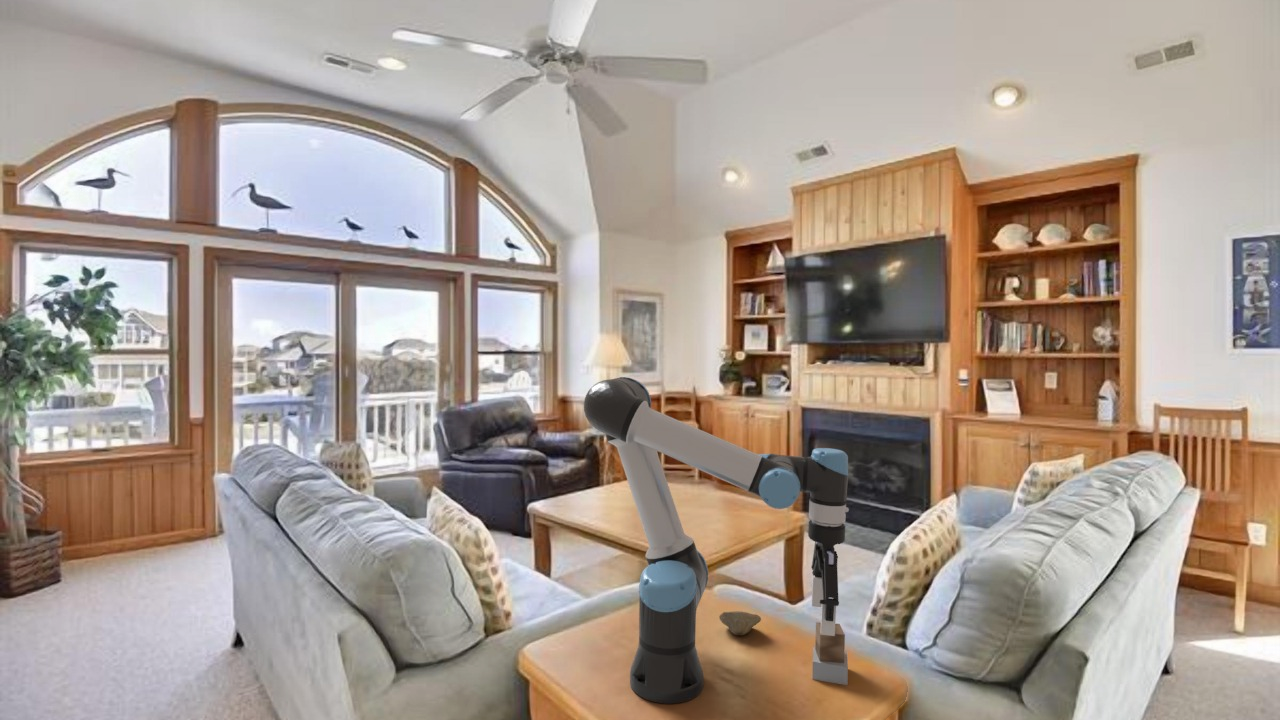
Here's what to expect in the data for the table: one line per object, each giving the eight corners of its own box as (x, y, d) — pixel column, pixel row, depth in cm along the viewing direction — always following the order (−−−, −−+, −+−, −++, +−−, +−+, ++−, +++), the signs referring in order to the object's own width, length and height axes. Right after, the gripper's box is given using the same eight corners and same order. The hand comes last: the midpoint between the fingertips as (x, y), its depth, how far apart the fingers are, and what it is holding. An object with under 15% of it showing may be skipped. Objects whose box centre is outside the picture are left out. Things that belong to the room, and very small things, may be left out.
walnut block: (819, 661, 126) (820, 633, 126) (815, 649, 131) (815, 622, 131) (844, 663, 125) (844, 634, 125) (838, 651, 130) (839, 623, 130)
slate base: (812, 680, 126) (812, 661, 126) (813, 663, 132) (813, 646, 132) (847, 686, 124) (847, 667, 124) (846, 669, 130) (846, 651, 130)
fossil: (766, 613, 144) (727, 606, 142) (767, 632, 141) (727, 625, 139) (751, 625, 150) (713, 618, 149) (752, 643, 148) (714, 637, 146)
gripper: (857, 541, 115) (852, 650, 115) (835, 507, 140) (830, 597, 140) (817, 538, 116) (812, 646, 117) (802, 505, 141) (797, 594, 141)
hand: (822, 619), depth 128 cm, fingers open, 13 cm apart
